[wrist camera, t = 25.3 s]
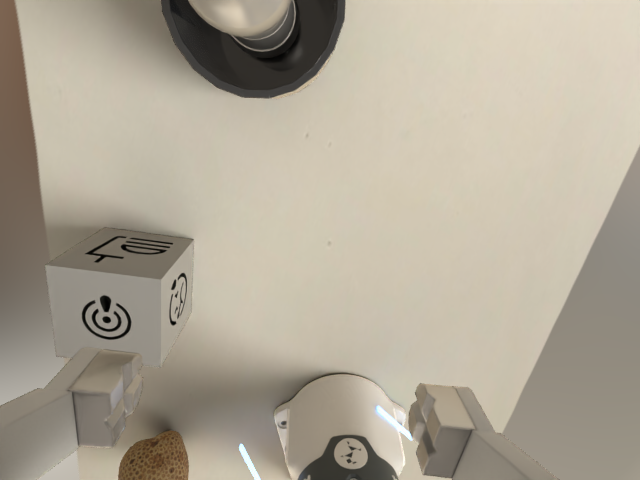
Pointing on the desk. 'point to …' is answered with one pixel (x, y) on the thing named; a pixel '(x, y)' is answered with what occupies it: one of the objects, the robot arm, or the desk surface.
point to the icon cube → (121, 294)
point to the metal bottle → (253, 23)
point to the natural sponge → (156, 459)
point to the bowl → (249, 71)
